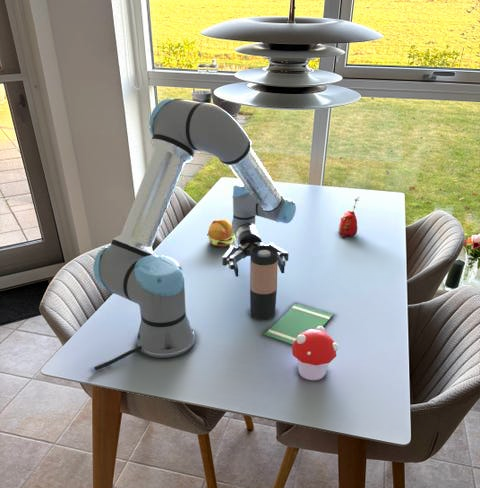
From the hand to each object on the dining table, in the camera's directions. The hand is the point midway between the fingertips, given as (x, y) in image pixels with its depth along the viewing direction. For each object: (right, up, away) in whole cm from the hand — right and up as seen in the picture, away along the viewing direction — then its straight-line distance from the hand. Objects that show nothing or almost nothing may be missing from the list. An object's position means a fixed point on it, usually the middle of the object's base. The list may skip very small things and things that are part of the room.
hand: (260, 270), depth 147 cm
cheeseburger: (-12, +14, +42) cm, 46 cm away
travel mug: (+1, -12, +2) cm, 12 cm away
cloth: (+11, -16, -4) cm, 20 cm away
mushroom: (+12, -27, -21) cm, 37 cm away
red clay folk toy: (+35, +18, +47) cm, 62 cm away
